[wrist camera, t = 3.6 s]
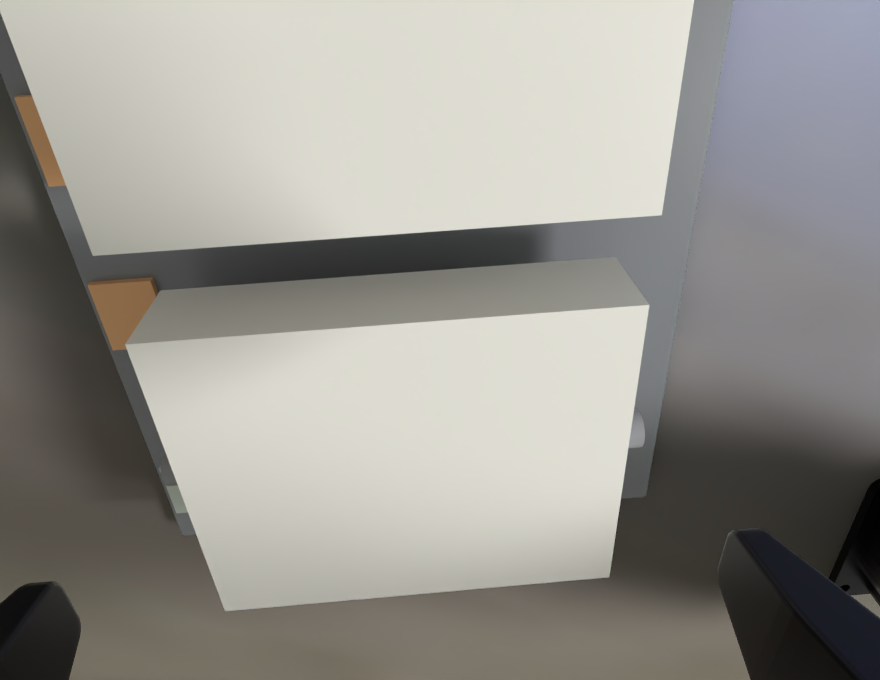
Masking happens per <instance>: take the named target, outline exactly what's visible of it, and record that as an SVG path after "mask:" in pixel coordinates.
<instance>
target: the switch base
mask: <svg viewBox="0 0 880 680" xmlns="http://www.w3.org/2000/svg"><path fill="white" fill-rule="evenodd" d="M733 1H734V0H694V5H693V11H692V18H691V25H690V31H689V38H688V45H687V51H686V58H685V64H684V71H683V78H682V84H681V91H680V98H679V104H678V111H677V118H676V124H675V131H674V138H673V144H672V151H671V158H670V164H669V171H668V177H667V184H666V191H665V197H664V204H663V211H662V215H659V216H645V217H631V218H617V219H603V220H589V221H575V222H561V223H547V224H533V225H519V226H505V227H491V228H477V229H463V230H449V231H435V232H421V233H407V234H393V235H379V236H365V237H351V238H337V239H323V240H309V241H295V242H281V243H267V244H253V245H239V246H225V247H211V248H197V249H183V250H170V251H156V252H142V253H128V254H114V255H100V256H93V255H92V252H91V250H90V247H89V245H88V242H87V239H86V237H85V234H84V231H83V229H82V226H81V223H80V221H79V218H78V216H77V213H76V210H75V208H74V205H73V202H72V200H71V197H70V195H69V192H68V189H67V187H66V184H65V181H64V179H63V176H62V173H61V171H60V168H59V166H58V163H57V160H56V158H55V155H54V152H53V150H52V147H51V144H50V142H49V139H48V137H47V134H46V131H45V129H44V126H43V123H42V121H41V118H40V116H39V113H38V110H37V108H36V105H35V102H34V100H33V97H32V94H31V92H30V89H29V87H28V84H27V81H26V79H25V76H24V73H23V71H22V68H21V66H20V63H19V60H18V58H17V55H16V52H15V50H14V47H13V44H12V42H11V39H10V37H9V34H8V31H7V29H6V26H5V23H4V21H3V18H2V17H0V73H1V76H2V79H3V81H4V84H5V86H6V89H7V91H8V94H9V96H10V99H11V101H12V104H13V107H14V109H15V112H16V114H17V117H18V119H19V122H20V124H21V127H22V129H23V132H24V134H25V137H26V140H27V142H28V145H29V147H30V150H31V152H32V155H33V157H34V160H35V162H36V165H37V167H38V170H39V173H40V175H41V178H42V180H43V183H44V185H45V188H46V190H47V193H48V195H49V198H50V201H51V203H52V206H53V208H54V211H55V213H56V216H57V218H58V221H59V223H60V226H61V228H62V231H63V234H64V236H65V239H66V241H67V244H68V246H69V249H70V251H71V254H72V256H73V259H74V261H75V264H76V267H77V269H78V272H79V274H80V277H81V279H82V282H83V284H84V287H85V289H86V292H87V295H88V297H89V300H90V302H91V305H92V307H93V310H94V312H95V315H96V317H97V320H98V322H99V325H100V328H101V330H102V333H103V335H104V338H105V340H106V343H107V345H108V348H109V350H110V353H111V356H112V358H113V361H114V363H115V366H116V368H117V371H118V373H119V376H120V378H121V381H122V383H123V386H124V389H125V391H126V394H127V396H128V399H129V401H130V404H131V406H132V409H133V411H134V414H135V416H136V419H137V422H138V424H139V427H140V429H141V432H142V434H143V437H144V439H145V442H146V444H147V447H148V450H149V452H150V455H151V457H152V460H153V462H154V465H155V467H156V470H157V472H158V475H159V477H160V480H161V483H162V485H163V488H164V490H165V493H166V495H167V498H168V500H169V503H170V505H171V508H172V510H173V513H174V516H175V518H176V521H177V523H178V526H179V528H180V531H181V533H182V536H189V535H196V532H195V530H194V527H193V524H192V522H191V519H190V516H189V514H188V511H187V508H186V506H185V503H184V500H183V498H182V495H181V492H180V490H179V487H178V485H176V486H166V485H165V484H164V482H163V480H162V477H161V469H160V464H161V457H162V454H163V451H164V447H163V444H162V442H161V439H160V436H159V434H158V431H157V428H156V426H155V423H154V420H153V418H152V415H151V412H150V410H149V407H148V404H147V402H146V399H145V397H144V394H143V391H142V389H141V386H140V383H139V381H138V378H137V375H136V373H135V370H134V367H133V365H132V362H131V359H130V357H129V354H128V351H127V349H126V346H125V344H126V342H127V341H128V339H129V338H130V336H131V335H132V333H133V332H134V330H135V328H136V327H137V325H138V324H139V322H140V321H141V319H142V318H143V316H144V315H145V313H146V312H147V310H148V309H149V307H150V306H151V304H152V302H153V301H154V299H155V298H156V296H157V295H158V293H159V292H160V290H172V289H186V288H200V287H213V286H227V285H240V284H254V283H268V282H281V281H295V280H309V279H322V278H336V277H350V276H363V275H377V274H391V273H404V272H418V271H432V270H445V269H459V268H473V267H486V266H500V265H514V264H527V263H541V262H554V261H568V260H582V259H595V258H609V257H616V258H617V260H618V261H619V263H620V264H621V265H622V267H623V268H624V270H625V271H626V272H627V274H628V275H629V277H630V278H631V280H632V281H633V282H634V284H635V285H636V287H637V288H638V289H639V291H640V292H641V294H642V295H643V297H644V298H645V299H646V301H647V302H648V304H649V311H648V318H647V325H646V332H645V338H644V345H643V352H642V359H641V366H640V372H639V379H638V386H637V393H636V399H635V406H634V410H638V411H639V412H640V414H641V416H642V419H643V423H644V428H645V441H644V445H643V446H642V447H638V448H628V454H627V461H626V467H625V474H624V481H623V488H622V494H621V499H626V498H638V497H646V493H647V487H648V482H649V476H650V471H651V465H652V459H653V454H654V448H655V442H656V437H657V431H658V425H659V420H660V414H661V408H662V403H663V397H664V391H665V386H666V380H667V374H668V369H669V363H670V357H671V352H672V346H673V340H674V335H675V329H676V323H677V318H678V312H679V306H680V301H681V295H682V289H683V284H684V278H685V273H686V267H687V261H688V256H689V250H690V244H691V239H692V233H693V227H694V222H695V216H696V210H697V205H698V199H699V193H700V188H701V182H702V176H703V171H704V165H705V159H706V154H707V148H708V142H709V137H710V131H711V125H712V120H713V114H714V108H715V103H716V97H717V92H718V86H719V80H720V75H721V69H722V63H723V58H724V52H725V46H726V41H727V35H728V29H729V24H730V18H731V12H732V7H733Z"/></svg>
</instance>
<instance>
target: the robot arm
mask: <svg viewBox="0 0 880 680" xmlns="http://www.w3.org/2000/svg"><path fill="white" fill-rule="evenodd" d="M717 574H718V582H719V586H720V589H721V592H722V595H723V598H724V601H725V604H726V607H727V610H728V613H729V616H730V619H731V622H732V625H733V628H734V631H735V634H736V637H737V640H738V643H739V646H740V649H741V652H742V655H743V658H744V661H745V664H746V667H747V670H748V673H749V676H750V679H751V680H880V618H879V617H878V616H876V615H875V614H874V613H872V612H871V611H870V610H869V609H867V608H866V607H865V606H863V605H862V604H861V603H859V602H858V601H857V600H856V599H854V598H853V597H852V596H850V595H860V594H871V595H872V596H873V598H874V599H875V600H876V602H877V603H878V604H879V606H880V479H878V480H876V481H875V482H873V483H872V484H871V485H870V486H869V488H868V490H867V492H866V495H865V497H864V499H863V501H862V504H861V506H860V508H859V511H858V513H857V515H856V517H855V520H854V522H853V524H852V527H851V529H850V531H849V534H848V536H847V538H846V540H845V543H844V545H843V547H842V550H841V552H840V554H839V556H838V559H837V561H836V563H835V566H834V568H833V570H832V572H831V575H830V577H829V579H828V578H827V577H826V576H824V575H823V574H822V573H820V572H819V571H818V570H816V569H815V568H814V567H813V566H811V565H810V564H809V563H807V562H806V561H805V560H803V559H802V558H801V557H799V556H798V555H797V554H796V553H794V552H793V551H792V550H790V549H789V548H788V547H786V546H785V545H784V544H783V543H781V542H780V541H779V540H777V539H776V538H775V537H773V536H772V535H771V534H770V533H768V532H767V531H765V530H763V529H760V528H745V529H734V530H732V531H731V532H730V533H729V534H728V536H727V538H726V542H725V545H724V548H723V552H722V555H721V559H720V562H719V565H718V573H717ZM80 632H81V623H80V619H79V616H78V614H77V612H76V610H75V609H74V607H73V605H72V603H71V602H70V600H69V598H68V596H67V594H66V593H65V591H64V589H63V587H62V586H61V585H60V584H59V583H57V582H52V581H51V582H38V583H29V584H25V585H23V586H21V587H19V588H18V589H17V590H15V591H14V592H13V593H12V594H11V595H10V596H8V597H7V598H6V599H5V600H4V601H3V602H2V603H0V680H69V677H70V673H71V669H72V666H73V662H74V658H75V654H76V650H77V646H78V642H79V638H80Z"/></svg>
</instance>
